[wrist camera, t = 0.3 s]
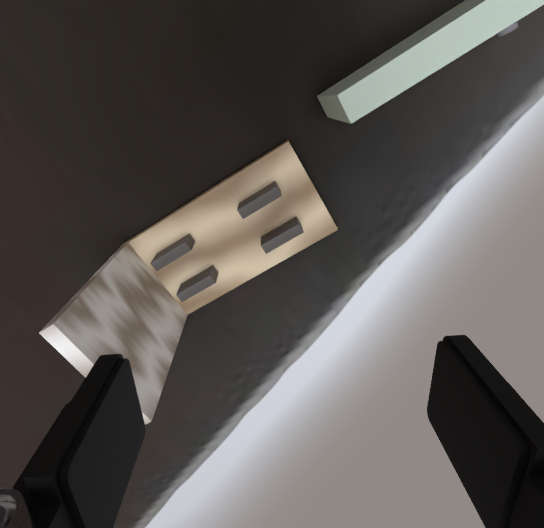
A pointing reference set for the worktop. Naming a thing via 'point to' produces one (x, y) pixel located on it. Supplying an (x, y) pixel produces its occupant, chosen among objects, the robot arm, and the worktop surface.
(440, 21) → the door
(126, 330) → the hinge base
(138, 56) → the worktop surface
